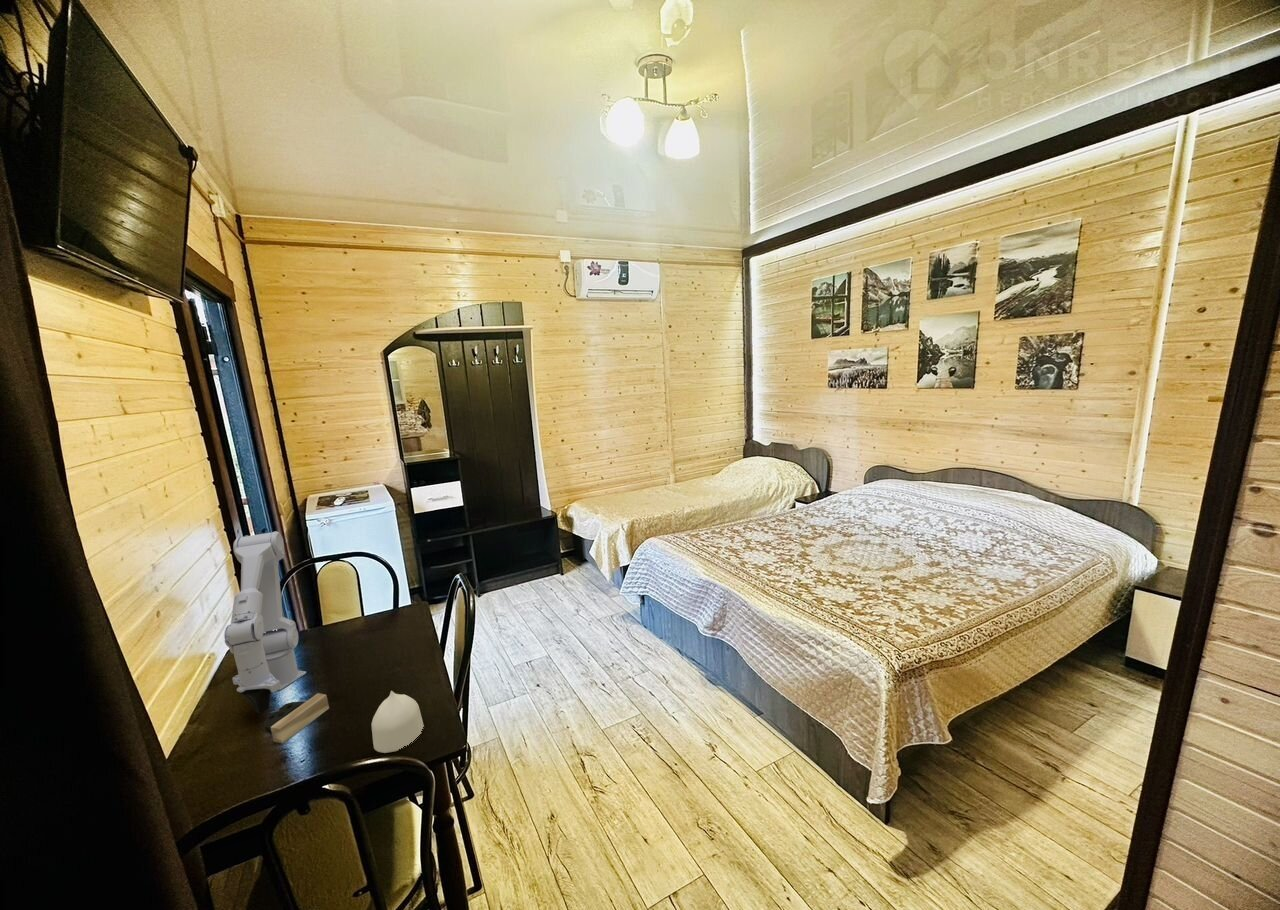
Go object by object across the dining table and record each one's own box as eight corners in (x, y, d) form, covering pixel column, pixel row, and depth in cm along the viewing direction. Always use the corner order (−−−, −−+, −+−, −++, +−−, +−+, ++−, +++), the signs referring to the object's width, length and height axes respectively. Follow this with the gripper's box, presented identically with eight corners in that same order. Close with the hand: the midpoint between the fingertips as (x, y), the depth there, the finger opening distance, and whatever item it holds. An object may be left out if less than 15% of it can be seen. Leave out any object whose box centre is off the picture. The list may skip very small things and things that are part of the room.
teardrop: (376, 726, 113) (368, 683, 111) (425, 711, 117) (418, 670, 115) (369, 759, 103) (360, 713, 101) (422, 742, 107) (415, 697, 105)
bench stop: (273, 741, 110) (270, 727, 109) (320, 706, 121) (317, 693, 121) (282, 743, 109) (279, 729, 108) (329, 708, 120) (326, 694, 120)
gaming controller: (280, 733, 112) (263, 716, 112) (271, 745, 113) (254, 728, 113) (315, 705, 121) (299, 689, 121) (306, 716, 122) (290, 701, 123)
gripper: (214, 670, 115) (226, 717, 117) (255, 678, 111) (266, 726, 113) (245, 653, 122) (256, 698, 124) (284, 660, 117) (295, 706, 120)
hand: (263, 710), depth 119 cm, fingers closed
